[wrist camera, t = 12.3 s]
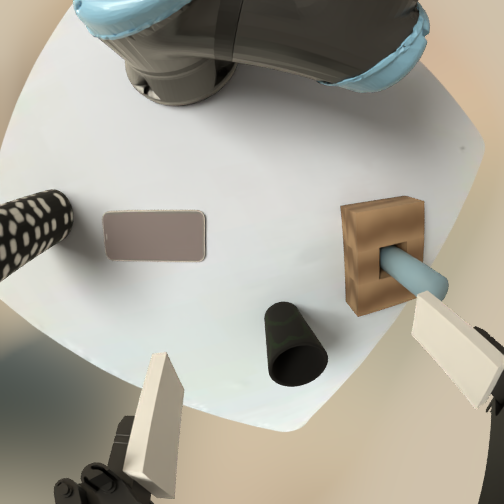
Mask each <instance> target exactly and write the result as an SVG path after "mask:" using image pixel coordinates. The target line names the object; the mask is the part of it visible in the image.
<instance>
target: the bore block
mask: <svg viewBox="0 0 504 504" xmlns="http://www.w3.org/2000/svg"><path fill="white" fill-rule="evenodd" d="M341 217H342V229H343V244H344V261H345V289H346V302H347V304H348V305H349V306H350V307H351V309H352V310H353V311H354V313H355V314H356V315H357V316H358V317H359V316H363V315H366V314H369V313H373V312H376V311H379V310H382V309H385V308H389V307H392V306H395V305H398V304H401V303H404V302H406V301H409V300H412V299H415V298H417V297H416V296H415V295H414V294H412V293H411V292H410V291H409V290H408V289H406V288H405V287H404V286H403V285H402V284H400V283H399V282H398V281H397V280H395V279H394V278H393V277H392V276H390V275H389V274H388V273H387V272H385V271H384V270H383V269H382V268H380V267H379V248H380V247H385V246H389V245H395V246H396V247H398V248H400V249H401V250H403V251H405V252H406V253H408V254H410V255H411V256H413V257H414V258H416V259H418V260H419V261H421V262H422V263H423V251H424V201H421V200H418V199H415V198H412V197H408V196H400V197H394V198H387V199H380V200H374V201H368V202H361V203H355V204H349V205H343V206H341Z"/></svg>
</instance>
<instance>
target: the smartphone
mask: <svg viewBox="0 0 504 504" xmlns="http://www.w3.org/2000/svg"><path fill="white" fill-rule="evenodd" d="M102 224H103V234H104V244H105V252H106V256H107V258H108V259H110V260H112V261H157V262H200V261H202V260H203V259H204V256H205V216H204V214H203V212H201V211H199V210H124V211H108V212H106V213H104V215H103V217H102Z"/></svg>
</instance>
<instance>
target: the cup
mask: <svg viewBox="0 0 504 504" xmlns="http://www.w3.org/2000/svg"><path fill="white" fill-rule="evenodd" d="M264 320H265V333H266V345H267V358H268V371H269V375H270V377H271V379H272V380H273V381H275V382H276V383H278V384H280V385H283V386H289V387H295V386H301V385H304V384H307V383H309V382H311V381H313V380H315V379H316V378H317V377H319V376H320V374H321V373H322V372H323V371H324V369H325V368H326V366H327V363H328V355H327V352H326V351H325V349H324V348H323V346H322V345H321V343H320V342H319V340H318V339H317V337H316V336H315V334H314V333H313V331H312V330H311V328H310V327H309V325H308V324H307V322H306V321H305V320H304V318H303V317H302V315H301V314H300V312H299V311H298V309H297V308H296V307H295V306H294V305H293V304H291V303H289V302H279V303H275V304H274V305H272V306H271V307H270V308H268V310H267V311H266V313H265V318H264Z"/></svg>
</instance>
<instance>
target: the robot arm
mask: <svg viewBox="0 0 504 504" xmlns="http://www.w3.org/2000/svg"><path fill="white" fill-rule="evenodd" d="M73 5H74V10H75V12H76V14H77V16H78V17H79V19H80V20H81V21H82V22H83V23H84V24H85V25H86V27H87V29H88V31H89V33H90V34H91V35H93V36H94V37H98V39H100V40H101V41H102V42H104V43H105V44H106V45H107V46H108V47H110V48H111V49H112V50H113V51H114V52H116V53H117V54H118V55H119V56H120V57H122V58H123V59H124V60H125V68H126V73H127V76H128V78H129V80H130V82H131V84H132V85H133V86H134V88H135V89H136V90H137V91H138V92H139V93H141V94H142V95H143V96H145V97H146V98H148V99H150V100H151V101H154V102H156V103H159V104H163V105H169V106H181V105H188V104H193V103H196V102H199V101H202V100H204V99H206V98H208V97H210V96H212V95H213V94H215V93H216V92H218V91H219V90H220V89H221V88H222V87H223V86H224V85H225V84H226V83H227V82H228V81H229V80H230V78H231V77H232V75H233V73H234V71H235V69H236V67H237V64H238V63H243V64H249V65H254V66H260V67H265V68H270V69H274V70H279V71H283V72H287V73H291V74H295V75H299V76H303V77H307V78H310V79H314V80H316V81H317V82H318V83H320V84H323V85H327V86H338V87H342V88H345V89H348V90H351V91H355V92H359V93H369V92H370V93H373V92H379V91H382V90H384V89H387V88H389V87H391V86H393V85H394V84H396V83H397V82H399V81H400V80H401V79H402V78H404V77H405V76H406V75H407V74H408V73H409V72H410V71H411V70H412V69H413V67H414V66H415V65H416V64H417V62H418V61H419V59H420V58H421V56H422V54H423V52H424V50H425V47H426V45H427V40H426V39H425V38H424V37H425V36H426V35H427V34H429V30H430V23H429V19H428V16H427V14H426V12H425V10H424V9H423V8H422V6H421V5H420V3H419V2H418V0H73ZM411 334H412V336H413V337H414V338H415V339H416V340H417V341H418V342H419V343H420V345H421V346H422V347H423V348H424V349H425V350H426V351H427V352H428V353H429V355H430V356H431V357H432V358H433V359H434V360H435V361H436V363H437V364H438V365H439V366H440V367H441V368H442V369H443V371H444V372H445V373H446V374H447V375H448V376H449V378H450V379H451V380H452V381H453V382H454V384H455V385H456V386H457V387H458V388H459V390H460V391H461V392H462V393H463V394H464V396H465V397H466V398H467V399H468V401H469V402H470V403H471V404H472V406H473V407H474V408H475V409H477V408H479V407H480V406H481V405H483V404H484V403H485V402H486V401H487V399H488V398H489V396H490V394H492V395H493V396H494V397H493V399H492V400H491V402H490V404H489V406H488V407H487V409H486V412H488V410H489V409H490V407H491V406H492V409H491V411H490V412H491V431H490V441H489V450H488V458H487V464H486V471H485V476H484V481H483V486H482V491H481V494H480V498H479V502H478V504H504V347H503V346H501V344H499V343H498V342H497V341H495V339H494V338H493V337H490V335H489V334H488V333H487V332H486V331H484V330H483V329H481V328H479V327H476V326H475V327H471V326H470V325H469V324H468V323H467V322H466V321H465V320H463V319H462V318H461V317H460V316H459V315H457V314H456V313H455V312H454V311H453V310H451V309H450V308H449V307H448V306H446V305H445V304H444V303H443V302H441V301H440V300H439V299H438V298H436V297H435V296H434V295H433V294H431V293H430V292H429V291H425V292H422V293H419V294H417V301H416V308H415V315H414V322H413V328H412V333H411ZM183 397H184V388H183V386H182V384H181V382H180V380H179V378H178V376H177V374H176V372H175V369H174V367H173V365H172V363H171V361H170V359H169V357H168V354H167V352H164V353H156V354H152V357H151V360H150V364H149V367H148V370H147V374H146V377H145V381H144V384H143V388H142V392H141V395H140V399H139V403H138V407H137V411H136V414H135V416H125V417H124V418H123V419H122V420H121V422H120V423H119V425H118V428H117V432H116V436H115V439H114V444H113V446H112V451H111V454H110V458H109V462H108V466H106V465H104V464H102V463H92V464H89V465H87V466H86V467H85V468H84V469H83V471H82V473H81V481H82V483H81V484H77V483H76V482H74V481H73V480H71V479H69V478H64V479H61V480H59V481H58V482H57V483H56V484H55V487H54V497H55V503H56V504H154V503H153V502H152V501H151V500H150V497H151V494H153V495H154V496H155V497H157V498H168V499H174V498H175V484H176V469H177V455H178V444H179V434H180V423H181V414H182V405H183Z"/></svg>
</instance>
